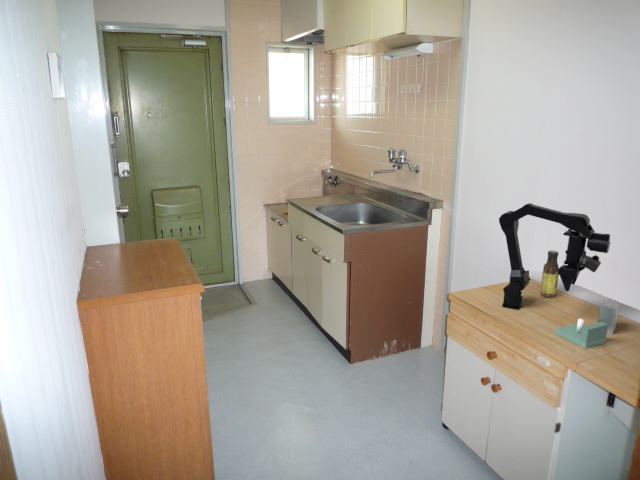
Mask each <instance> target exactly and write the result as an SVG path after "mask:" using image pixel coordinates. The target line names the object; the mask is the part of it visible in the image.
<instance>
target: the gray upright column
mask: <svg viewBox="0 0 640 480" xmlns="http://www.w3.org/2000/svg"><path fill="white" fill-rule="evenodd" d="M619 309H620V303H616V302H611V301H606V300H603V301H602V302H601V304H600V307H599V311H598V317H597V323H599V322H604V323H606V324H608V329H607V334H610V335H613V334H614V332H615V331H616V327H617V322H618V321H617V320H618V317H619V315H618V314H619Z"/></svg>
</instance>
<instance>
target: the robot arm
mask: <svg viewBox="0 0 640 480" xmlns="http://www.w3.org/2000/svg"><path fill="white" fill-rule="evenodd" d="M526 216H532V217H535V218H539V219H542V220H546V221H550V222H554V223H557V224H559V225H562V226H564V227H565V228H567V230H565V232H564V233H563V236H566V237H568V239H567V241H568V242H567V248H566V250H565V252H564V253H565V260H564V261H563V264H562V265H561V266H560V267H559V269H558V274H559V277H560V280H561V282H562V285H563V288H564V290H565V292H569V291H570V289H571V286H572V285H575V283H576V281H577V280H578V277H579V275H580V272H582V271H583V270H585V269H588V270H589V272H592V273H596V271H597V270H599V267H600V265H601V264H602V262H601V261H600V256H598V255H597V254H595V255H593V256H590V255H587V251H586V248H587V249H588V250H589V251H591V252H596V253H603V254H608V253H609V251H610V246H611V234H610V233H601V232H600V233H599V232H596V231H595V230H594V228H593V227H592V225H591V220H590V218H589V216H588V215H587V214H585V213H579V212H578V213H577V212H562V211H560V210H555V209H552V208H547V207H544V206H540V205H536V204H533V203H526V204H524V205H523V206H522V207H519V208H518V209H516V210H514V211H513V210H509V211H507V212H505V213H503V214H500V217H499V218H498V222H499V226H500V228H501V230H502V232H503V234H504V236H505V241H506V245H507V247H506V248H507V252H508V257H509V258H508V259H509V262H510V263H509V265H510V275H509V282H508V284H506V285H505V286H504V287H503V289H502V290H503V303H502V304H501V306H502V308H508V309H513V310H520V308H522V304H523V300H524V299H523V297H524V295H523V294H522V292H523V291H524V290H525V289H526V288H527V286H529V284H530V281H531V277H530V271H529V270H525V268H524V266H523V265H524V264H523V260H522V253H521V248H520V243H519V236H518V231H519V225H520V224H519V223H520V221H519V220H520V219H522V218H525V217H526Z"/></svg>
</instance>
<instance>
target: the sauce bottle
mask: <svg viewBox="0 0 640 480" xmlns="http://www.w3.org/2000/svg"><path fill="white" fill-rule="evenodd" d="M558 256H559V251H556V250H548V252H547V259H546V260H547V261H546V262H545V264H544V265H543V269H542V270H543V271H542V275H541V283H540V284H541V285H540V295H541V296H542V297H545V298H550V299H551V298H554V297H556V293H557V291H558V285H559V284H558V282H559V277H560V275H559V274H558V269H559V268H560V267H559V264H558Z"/></svg>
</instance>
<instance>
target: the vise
mask: <svg viewBox="0 0 640 480" xmlns="http://www.w3.org/2000/svg"><path fill="white" fill-rule="evenodd" d="M607 329H608V324H606V323H604V322H599V323H598V322H596V323H591V324H588V325H585V318H581V317H580V318H578V319H577V322H576V323H574V324H573V323H572V324H569V325H565V326H560V327H558V328H555V331H554V334H555V335H557V336H559V337H561V338H564V339H566V340H567V341H569V342H571V343H573V344H575V345H577V346H579V347H581V348H583V349H589V348H593V347H596V346H599V345H601V344H605V343H606V340H607V334H608V333H607Z"/></svg>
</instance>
